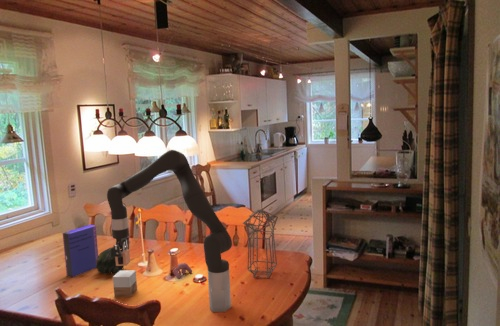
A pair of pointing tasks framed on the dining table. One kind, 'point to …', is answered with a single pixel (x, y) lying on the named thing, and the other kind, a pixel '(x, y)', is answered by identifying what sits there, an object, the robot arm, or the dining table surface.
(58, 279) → the dining table surface
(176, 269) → the video game controller
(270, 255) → the geometric lantern
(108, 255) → the squash
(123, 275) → the tower top
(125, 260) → the beige block
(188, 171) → the robot arm
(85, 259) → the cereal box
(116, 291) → the tower bottom
